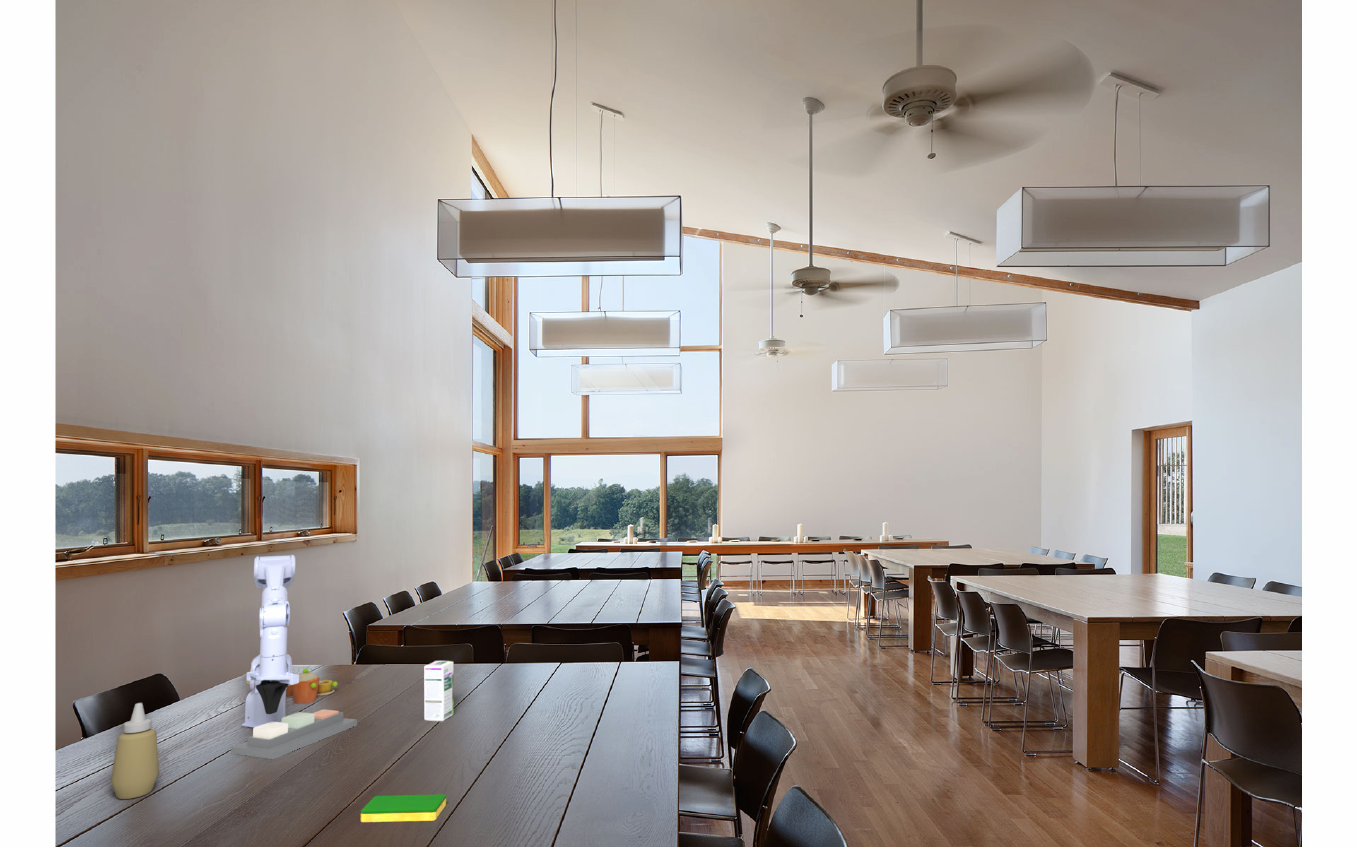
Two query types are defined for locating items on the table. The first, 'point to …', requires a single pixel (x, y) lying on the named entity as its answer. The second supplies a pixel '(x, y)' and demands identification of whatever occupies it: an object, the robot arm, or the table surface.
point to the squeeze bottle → (135, 757)
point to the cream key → (270, 730)
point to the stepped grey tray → (294, 738)
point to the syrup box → (438, 691)
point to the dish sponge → (403, 808)
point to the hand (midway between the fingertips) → (271, 712)
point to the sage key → (298, 720)
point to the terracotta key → (324, 714)
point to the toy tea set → (308, 688)
